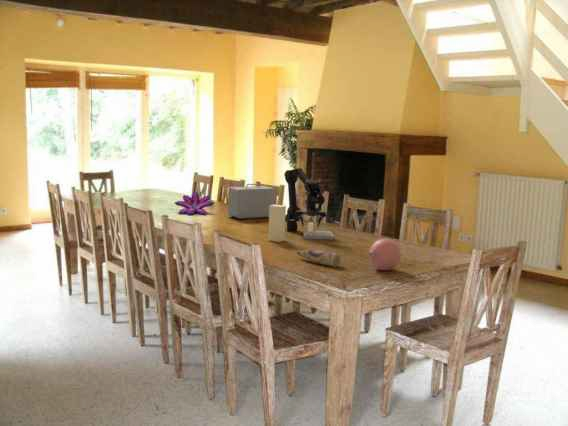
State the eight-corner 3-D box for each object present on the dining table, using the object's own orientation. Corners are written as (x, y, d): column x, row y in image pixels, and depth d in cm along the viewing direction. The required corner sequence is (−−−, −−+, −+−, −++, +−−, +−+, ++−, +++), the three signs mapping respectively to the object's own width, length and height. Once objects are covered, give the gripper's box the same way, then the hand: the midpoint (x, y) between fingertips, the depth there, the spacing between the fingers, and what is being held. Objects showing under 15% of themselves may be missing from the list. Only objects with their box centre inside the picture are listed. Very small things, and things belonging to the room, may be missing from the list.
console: (304, 238, 359) (304, 233, 359) (303, 233, 375) (303, 229, 375) (333, 239, 360) (333, 234, 359) (331, 234, 375) (331, 230, 375)
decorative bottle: (341, 266, 293) (342, 253, 292) (332, 268, 288) (332, 255, 287) (302, 256, 310) (302, 244, 309) (292, 259, 305) (293, 246, 304)
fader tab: (307, 233, 364) (307, 223, 363) (306, 232, 369) (307, 222, 368) (313, 233, 364) (314, 224, 364) (313, 232, 369) (313, 222, 368)
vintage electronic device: (264, 214, 450) (265, 181, 446) (276, 217, 435) (277, 184, 431) (226, 216, 434) (227, 182, 430) (237, 220, 419) (238, 185, 415)
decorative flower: (213, 222, 437) (212, 211, 432) (172, 224, 438) (170, 213, 432) (217, 200, 463) (215, 189, 457) (178, 202, 463) (176, 191, 458)
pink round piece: (354, 269, 287) (356, 238, 284) (384, 264, 298) (386, 235, 295) (376, 276, 274) (378, 244, 272) (406, 271, 285) (408, 240, 283)
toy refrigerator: (285, 239, 354) (286, 205, 350) (280, 242, 347) (281, 206, 344) (273, 238, 357) (274, 204, 354) (268, 240, 350) (268, 205, 347)
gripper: (296, 203, 356) (295, 229, 358) (327, 204, 356) (326, 230, 359) (296, 201, 367) (295, 226, 369) (325, 202, 367) (324, 226, 370)
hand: (310, 227), depth 366 cm, fingers open, 9 cm apart
